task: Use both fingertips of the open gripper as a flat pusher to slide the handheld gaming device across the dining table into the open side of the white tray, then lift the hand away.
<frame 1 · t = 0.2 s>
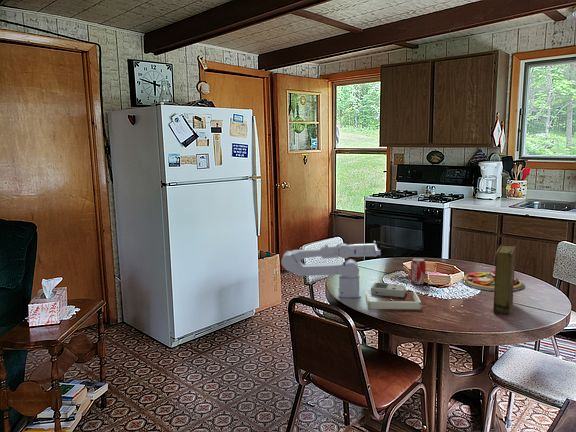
hand: (394, 249, 196), 21 cm above the table, tool horizontal, fingers open, 7 cm apart
white tray: (392, 303, 189), on the table
book: (503, 308, 180), on the table
handheld gaming device: (388, 294, 202), on the table
soda can: (418, 283, 215), on the table
toy pizza: (491, 284, 213), on the table
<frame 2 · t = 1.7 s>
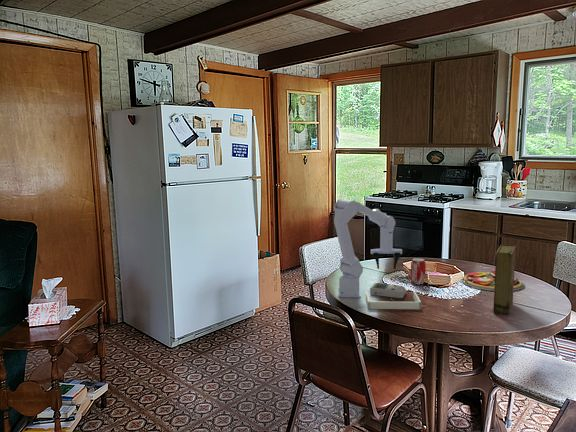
hand: (386, 268, 210), 9 cm above the table, tool pointing down, fingers open, 7 cm apart
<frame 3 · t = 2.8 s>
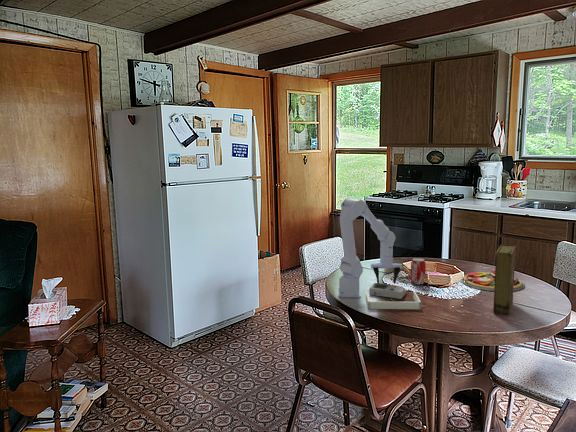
hand: (386, 282, 211), 2 cm above the table, tool pointing down, fingers open, 7 cm apart
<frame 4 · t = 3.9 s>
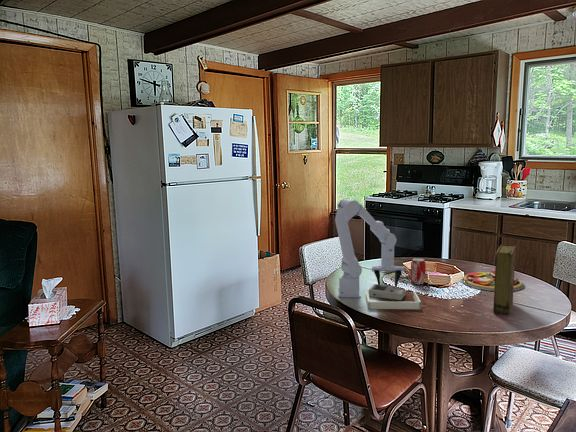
hand: (387, 286, 206), 2 cm above the table, tool pointing down, fingers open, 7 cm apart
handheld gaming device: (387, 296, 199), on the table
everything else where it was.
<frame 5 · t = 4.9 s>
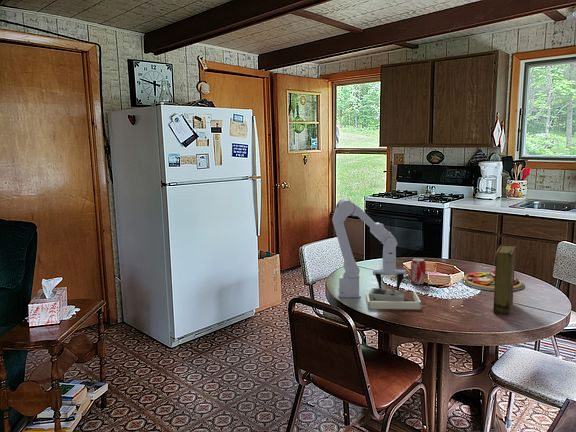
hand: (389, 290, 200), 2 cm above the table, tool pointing down, fingers open, 7 cm apart
handheld gaming device: (386, 300, 194), on the table
everything else where it was.
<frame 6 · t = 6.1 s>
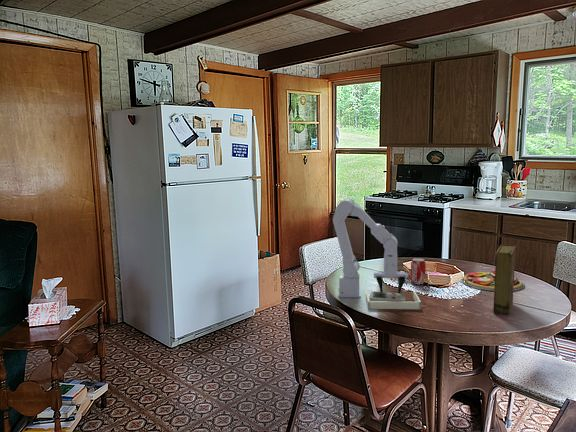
hand: (390, 293, 196), 2 cm above the table, tool pointing down, fingers open, 7 cm apart
handheld gaming device: (387, 304, 190), on the table
everything else where it was.
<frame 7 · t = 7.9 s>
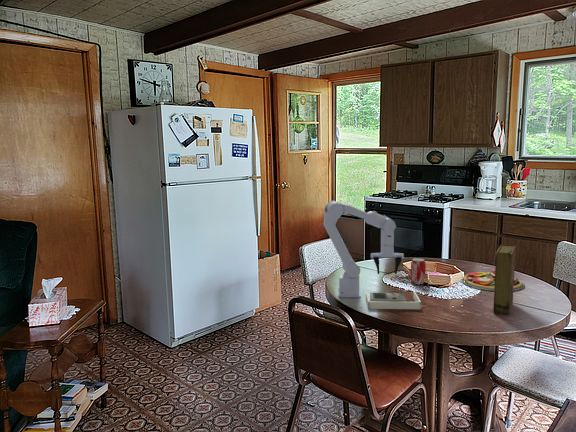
hand: (387, 273, 201), 9 cm above the table, tool pointing down, fingers open, 7 cm apart
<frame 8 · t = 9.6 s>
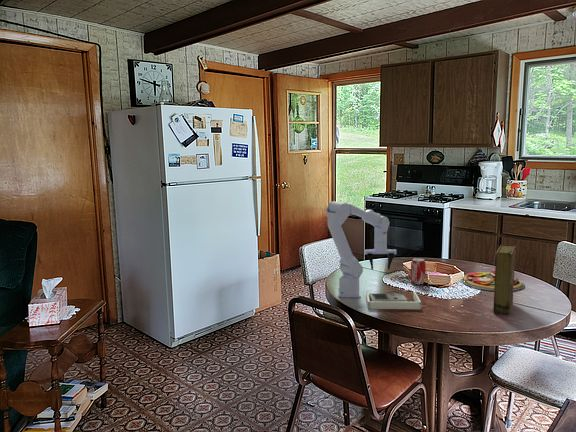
hand: (380, 269, 208), 9 cm above the table, tool pointing down, fingers open, 7 cm apart
at the end: handheld gaming device inside the target area on the white tray (2.0 cm from its centre), point -0.6 cm above the white tray's base; handheld gaming device tilted 0° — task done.
